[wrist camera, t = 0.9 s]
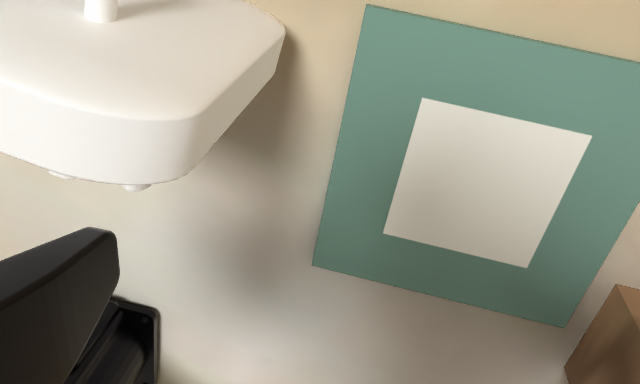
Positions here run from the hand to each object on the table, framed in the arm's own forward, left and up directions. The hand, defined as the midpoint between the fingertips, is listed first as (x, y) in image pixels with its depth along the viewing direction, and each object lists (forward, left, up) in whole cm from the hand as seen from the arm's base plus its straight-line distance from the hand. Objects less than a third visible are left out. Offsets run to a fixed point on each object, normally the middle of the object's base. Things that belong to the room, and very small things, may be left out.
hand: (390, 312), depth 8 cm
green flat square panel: (-4, -4, -13) cm, 14 cm away
